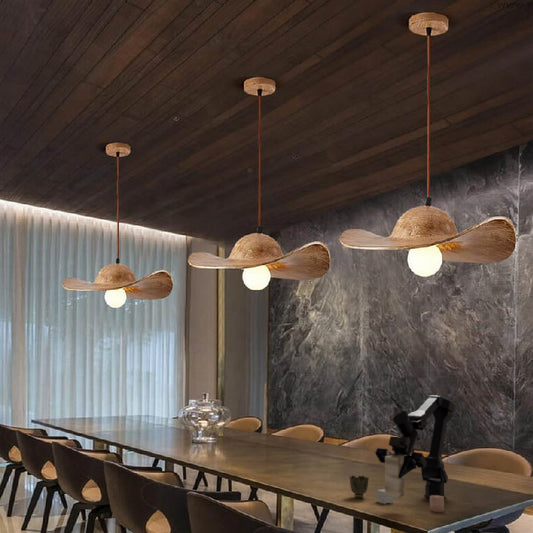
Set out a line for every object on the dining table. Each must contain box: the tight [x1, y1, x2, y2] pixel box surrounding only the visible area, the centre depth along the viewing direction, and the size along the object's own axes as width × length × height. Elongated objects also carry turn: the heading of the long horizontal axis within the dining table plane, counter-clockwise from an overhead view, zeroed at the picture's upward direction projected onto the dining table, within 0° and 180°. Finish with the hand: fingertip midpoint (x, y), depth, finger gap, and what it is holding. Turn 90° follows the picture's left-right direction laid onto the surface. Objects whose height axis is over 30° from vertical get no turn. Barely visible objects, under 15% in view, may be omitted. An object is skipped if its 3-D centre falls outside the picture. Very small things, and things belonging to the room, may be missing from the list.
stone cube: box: [376, 488, 395, 505], centre depth 272 cm, size 4×4×4 cm
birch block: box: [384, 455, 405, 499], centre depth 258 cm, size 5×5×14 cm
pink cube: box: [429, 495, 445, 513], centre depth 260 cm, size 5×5×5 cm
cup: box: [349, 475, 369, 499], centre depth 279 cm, size 8×7×8 cm
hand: (392, 476), depth 257 cm, fingers closed on birch block, 5 cm apart
